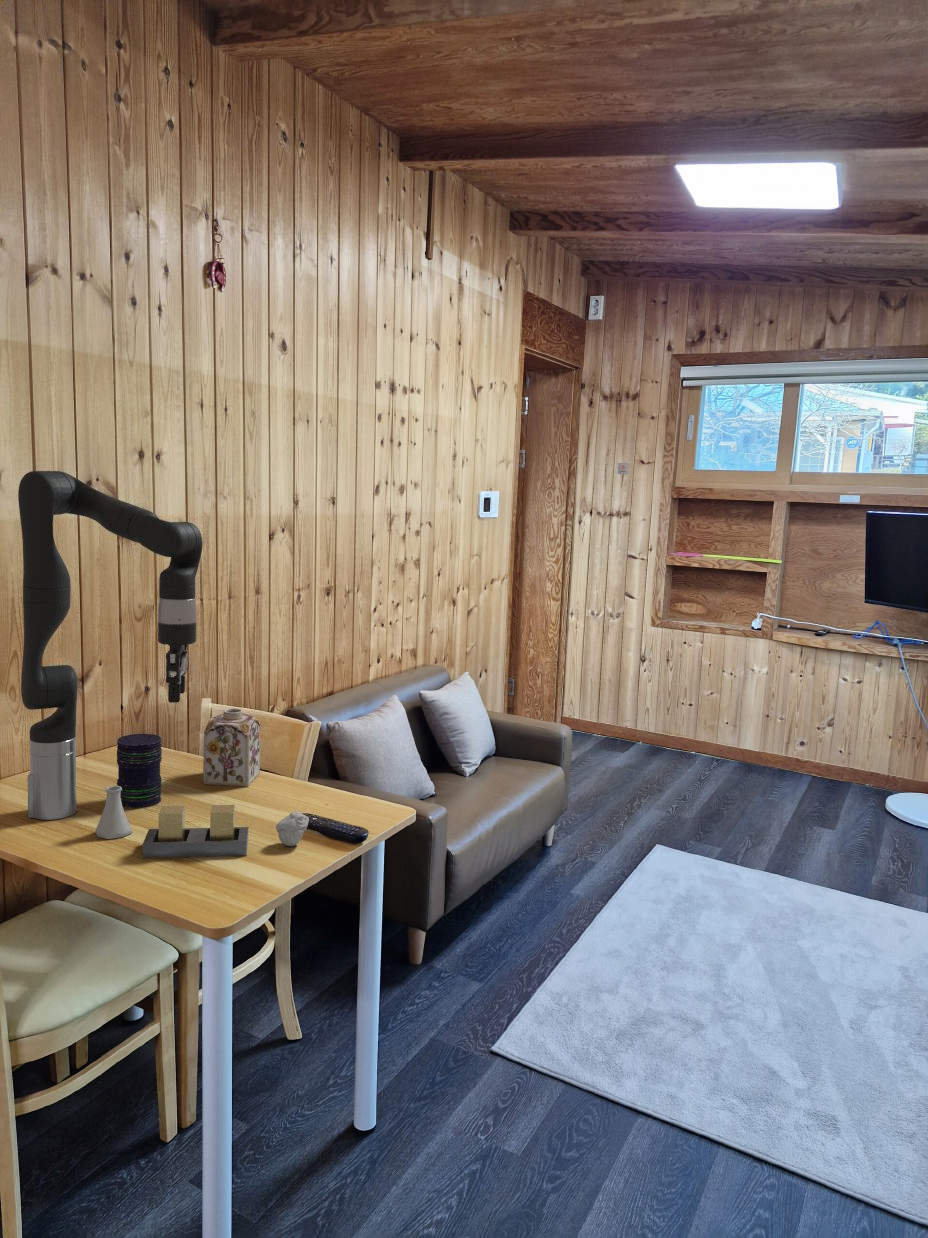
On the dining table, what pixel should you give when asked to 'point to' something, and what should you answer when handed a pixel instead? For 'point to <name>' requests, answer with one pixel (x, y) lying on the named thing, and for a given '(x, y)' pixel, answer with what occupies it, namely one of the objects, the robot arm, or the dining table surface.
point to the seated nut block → (172, 824)
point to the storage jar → (139, 770)
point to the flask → (113, 816)
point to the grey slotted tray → (196, 844)
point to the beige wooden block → (222, 822)
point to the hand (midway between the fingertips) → (176, 697)
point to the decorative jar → (231, 749)
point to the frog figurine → (292, 828)
